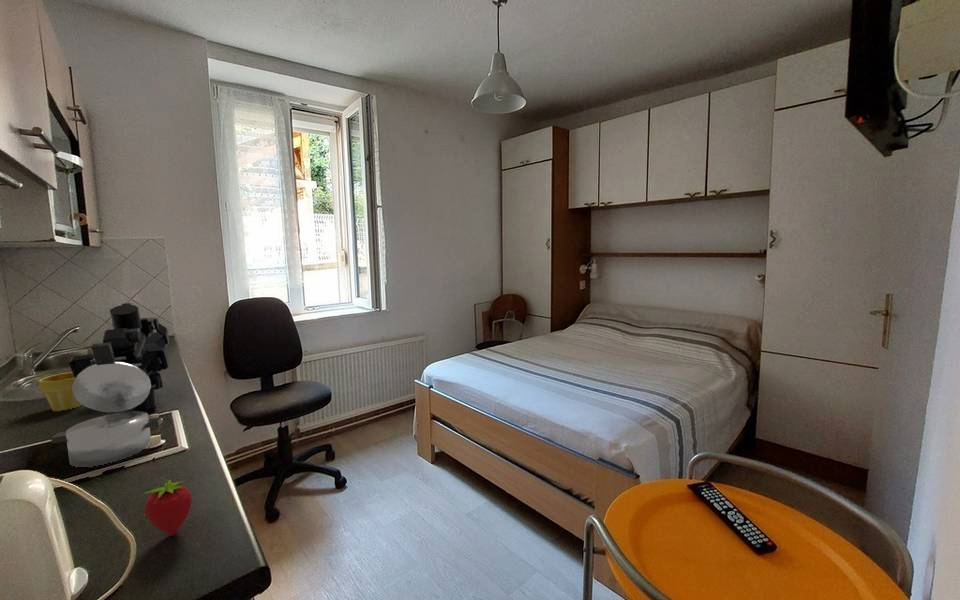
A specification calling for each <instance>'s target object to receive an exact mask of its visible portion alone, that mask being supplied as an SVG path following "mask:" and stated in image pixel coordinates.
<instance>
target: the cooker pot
mask: <svg viewBox="0 0 960 600" xmlns="http://www.w3.org/2000/svg"><path fill="white" fill-rule="evenodd" d="M149 417H150V415H149V413H148V412H147V413H146V412H139V411H133V412H129V411H121V412H114V413H111V414H104V415H101V416H97V417H94V418H90V419H87V420H85V421H81V422H79V423H77V424H75V425H72V426H70V427H69V428H68V429H67V430H66V431H60V432H57V433H55V434H54V435H53V436H52V437H51V438H50V440H51V444H56V443H61V442H62V443H63V442H66V447H67V453H68V461H69V465H70V466H71V465H72V466H71V467H73V466H75V467H74V468H77V467H88V468H94V467H93V466H96V467H99V466H98V465H102V466H105V465H104V464H107V463H111V464H113V463H112V462H115V461H118V460H122V459H125V458H127V457H130V456H132V455H134V454H137V453H139V452H140V451H142V450H143V449H145V448H146V447H147V445H148V444H149V442H150V440H151V441H152V436H151V435H152V434H151V429H150V428H154V427H155V428H156V427H160V426H161V424H162V422H163V419H162V416H160V417H159V416H158V417H151V418H149ZM139 454H140V453H139ZM137 455H138V454H137ZM130 458H131V457H130ZM127 459H128V458H127ZM125 460H126V459H125ZM122 461H123V460H122ZM118 462H119V461H118ZM115 463H116V462H115ZM107 465H108V464H107Z"/></svg>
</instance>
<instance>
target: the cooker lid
mask: <svg viewBox="0 0 960 600" xmlns="http://www.w3.org/2000/svg"><path fill="white" fill-rule="evenodd" d="M90 348H91V351H92V355H94V357H95V361H96V364H94V365H92V366H89V367H87V368H86V369H84V370H83V371H82V372H80V373H79V374H78V376H77V377H76V379H75V380H74V383H73V386H72V391H73V394H74V396H75V398H76V399H77V400H78V401H79V402H80V403H81V404H82V405H81V406H84V407H86V408H88V409H91V410H93V411H98V412H103V413H121V412H126V411H128V410H129V411H130V410H131V408H134V407H136V406H138V405H139V404H141V403H142V402H143V401H144V400H145V399H146V398H147V396H148V395H149V392H150V389H151V381H150V379H149V377H148V375H147V374H146V373H145V372H144V371H143V370H141V369H140V368H138V367H136V366H134V365H131V364H128V363H124V362H115V357H114V354H113V350H112V347H111V343H110V342H109V343H103V342H100V343H98V342H97V343H92V345H91V347H90Z"/></svg>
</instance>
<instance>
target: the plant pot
mask: <svg viewBox="0 0 960 600" xmlns="http://www.w3.org/2000/svg"><path fill="white" fill-rule="evenodd" d="M74 380H75V377H74V375H73V372H72V371H71V372H64V373H62V372H61V373H58V374H57V373H56V374H52V375H49V376H48V375H47V376H45V377H42V378H41V379H39V380H38V387H39V391H40V392H41V393H44V396H45V398H46V400H47V402H48V404H49V406H50V409H51V410H52V412H63V411H62V410H65V411H69V410H68V409H70V410H73V409H72V408H74V409H77V408H79V407H81V406H83V405H82V404H81V403H80V402H79V401H78V400H77V399H76V398H75V396H74V394H73V391H72V386H73V383H74ZM76 407H77V408H76Z"/></svg>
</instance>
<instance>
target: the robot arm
mask: <svg viewBox="0 0 960 600" xmlns="http://www.w3.org/2000/svg"><path fill="white" fill-rule="evenodd" d="M109 313H110V318H111V322H112V328H111V329H106V330H105V331H104V334H103V336H102V337H103V338H102V343H109V342H110V343H111V347H112V350H113V354H114V357H115V362H124V363H128V364H131V365H134V366H136V367H138V368H140V369H141V370H143V371H144V372H145V373H146V374H147V375H148V377H149V379H150V381H151V389H150V392H149V395H148V396H147V398H146V399H145V400H144V401H143V402H142V403H141V404H139V405H138V406H136V407H134V408H131V409H129V411H128V412H133V411H139V412H146V413H147V414H148V413H152V412H153V413H154V412H156V411H157V410H158V409H159V408H160V406H161V403H160V402H159V403H157V397H156V396H157V395H156V390H160V389H161V388H164V385H163V383H164V382H163V378H162V375H161V373H160V372H161V371H163V370H167V369H168V368H169V366H170V359H169V354H168V351H167V348H168V345H170V335H169V331H168V328H167V327H166V326H164V325H162V324H161V323H160V321H159V318H156V317H141V315H140V311H139V307H138V306H137V305H134V304H132V302H126V303H121V304H120V305H117V306H114V307H113V308H110V309H109ZM94 364H96V361H95V357H94V354H93V353H92V354H91V353H90V354H83V355H75V356H72V357H71V359H70V360H69V362H68V365H69V367H70V370H71V372H73V375H74V377H75V379H76V377H77V376H78V374H79V373H80V372H82V371H83V370H84V369H86V368H87V367H89V366H92V365H94Z"/></svg>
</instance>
